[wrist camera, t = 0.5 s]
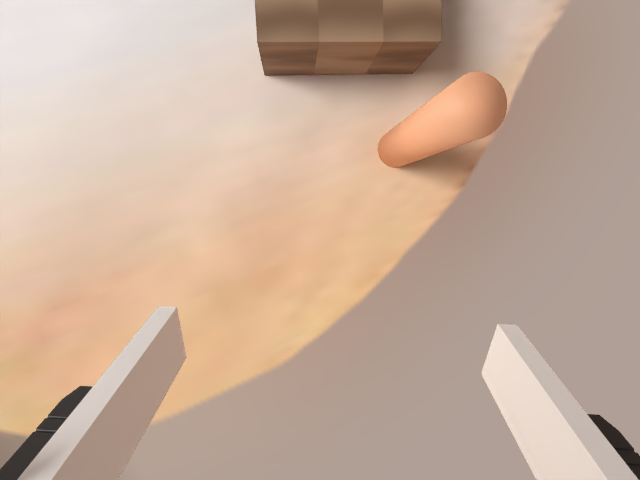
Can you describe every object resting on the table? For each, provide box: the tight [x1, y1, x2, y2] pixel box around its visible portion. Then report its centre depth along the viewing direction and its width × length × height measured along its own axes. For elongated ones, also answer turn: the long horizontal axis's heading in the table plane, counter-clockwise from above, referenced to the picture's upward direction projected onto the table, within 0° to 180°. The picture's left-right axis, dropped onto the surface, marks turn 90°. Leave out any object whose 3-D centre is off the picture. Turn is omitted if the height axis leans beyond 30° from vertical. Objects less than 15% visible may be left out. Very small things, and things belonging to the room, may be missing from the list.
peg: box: [378, 72, 507, 167], centre depth 28 cm, size 4×4×16 cm
